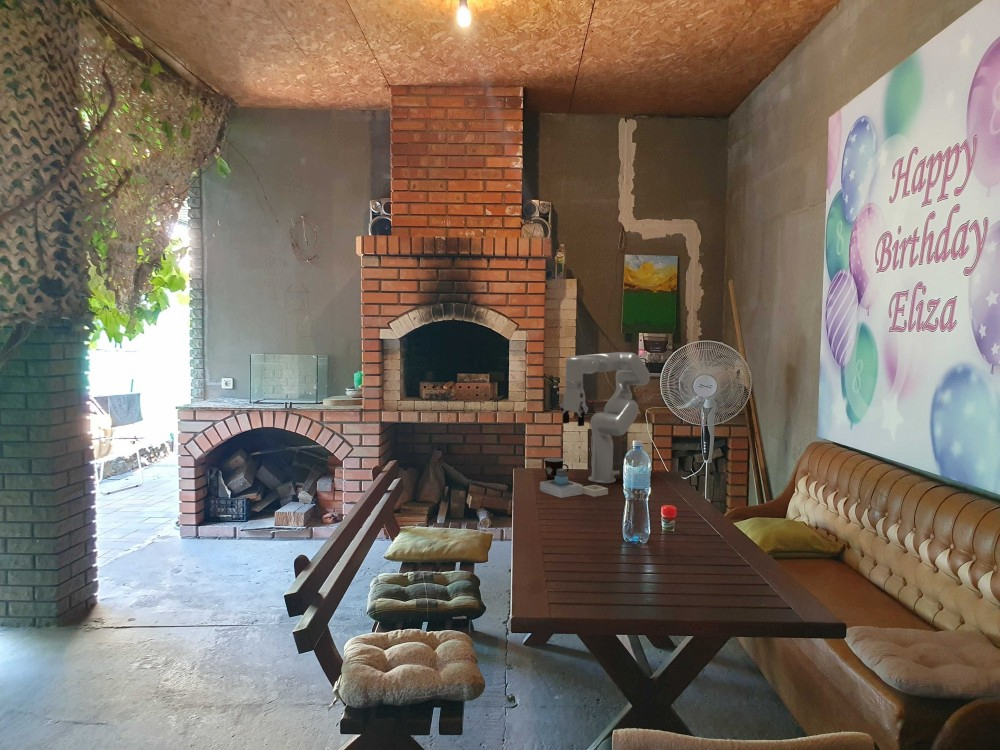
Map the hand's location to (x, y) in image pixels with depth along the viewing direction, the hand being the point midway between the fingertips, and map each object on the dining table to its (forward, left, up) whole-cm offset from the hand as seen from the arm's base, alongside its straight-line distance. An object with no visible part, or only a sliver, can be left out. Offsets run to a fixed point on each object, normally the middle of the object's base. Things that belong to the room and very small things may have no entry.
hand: (573, 424), depth 279 cm
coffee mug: (-2, -14, -28) cm, 32 cm away
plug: (+9, +3, -28) cm, 30 cm away
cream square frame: (-2, +12, -28) cm, 31 cm away
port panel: (+9, +3, -28) cm, 30 cm away
